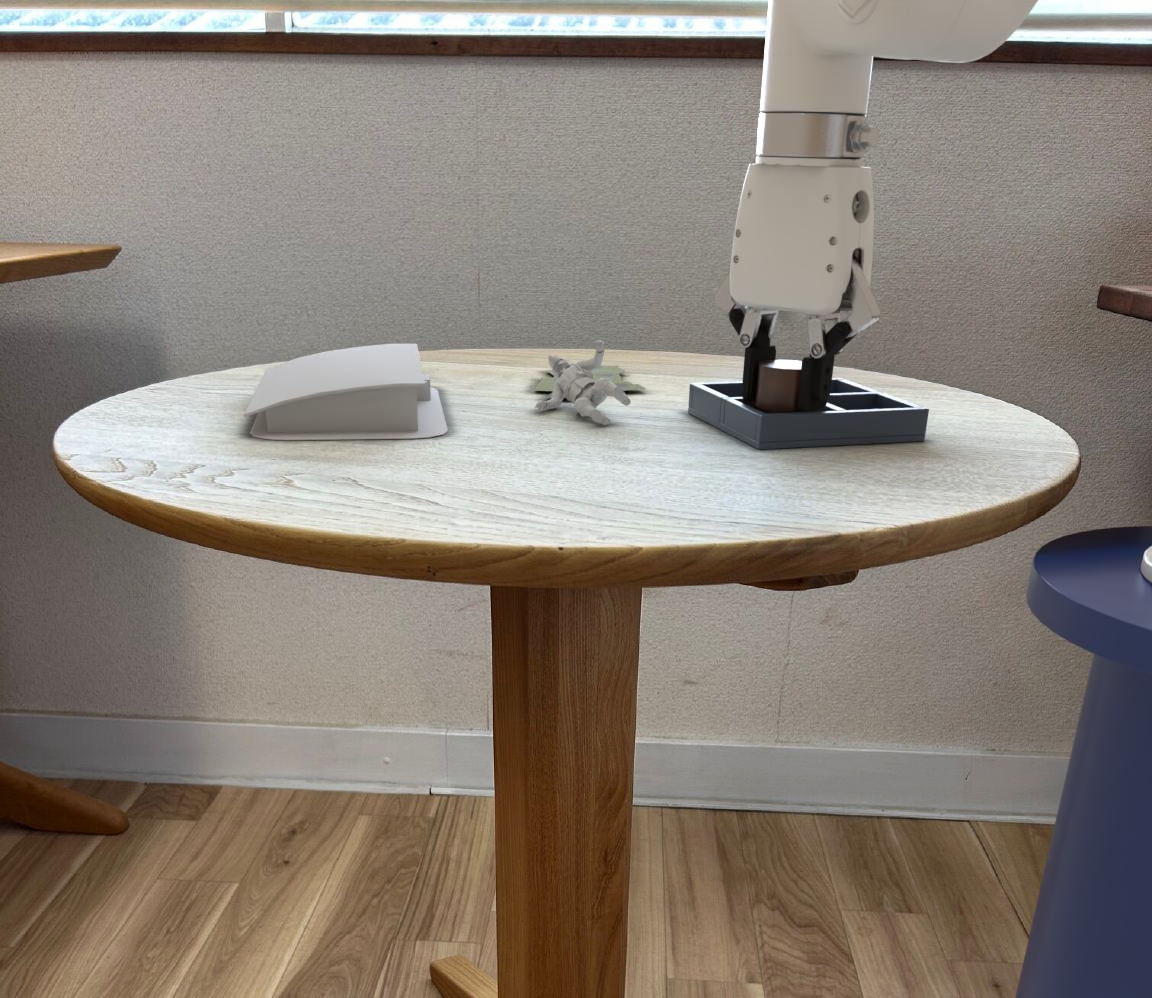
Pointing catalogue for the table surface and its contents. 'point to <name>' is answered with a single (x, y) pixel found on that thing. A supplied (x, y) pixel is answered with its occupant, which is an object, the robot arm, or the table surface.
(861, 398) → the grid
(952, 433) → the table surface
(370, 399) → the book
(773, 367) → the cylinder
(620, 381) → the map
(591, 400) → the soldier figure
